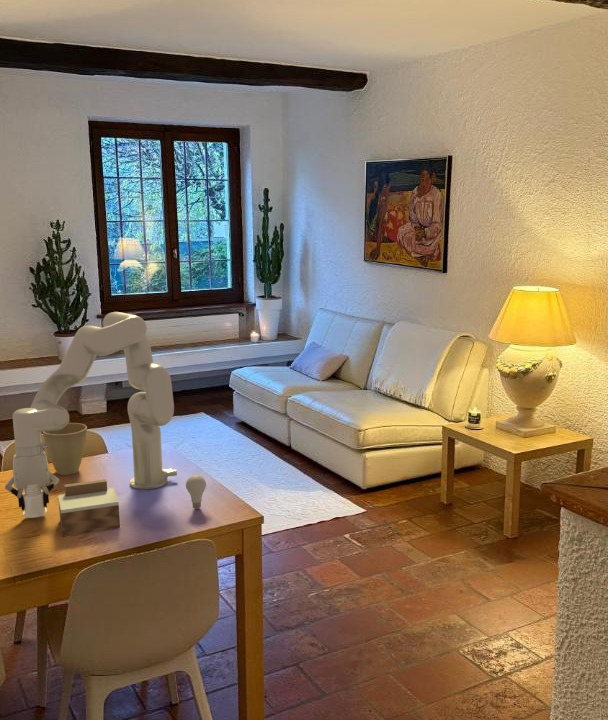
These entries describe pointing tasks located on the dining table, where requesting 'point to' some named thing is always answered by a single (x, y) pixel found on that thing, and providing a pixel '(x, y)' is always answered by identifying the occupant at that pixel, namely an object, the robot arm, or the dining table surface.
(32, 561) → the dining table surface
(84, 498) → the toolbox lid
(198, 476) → the lightbulb
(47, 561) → the dining table surface
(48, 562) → the dining table surface
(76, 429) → the plant pot
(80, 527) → the toolbox
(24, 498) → the downlight
